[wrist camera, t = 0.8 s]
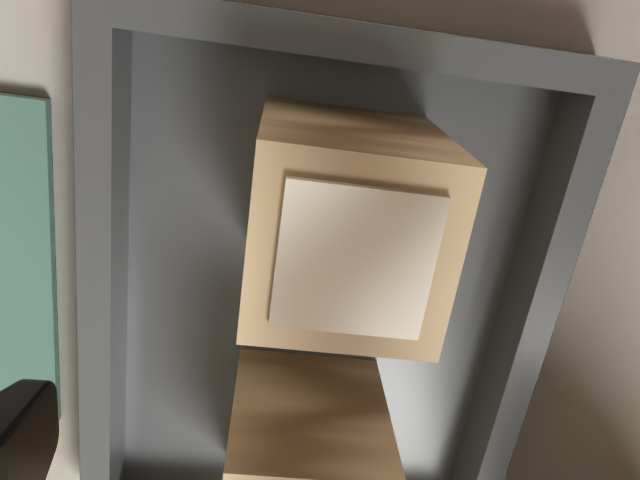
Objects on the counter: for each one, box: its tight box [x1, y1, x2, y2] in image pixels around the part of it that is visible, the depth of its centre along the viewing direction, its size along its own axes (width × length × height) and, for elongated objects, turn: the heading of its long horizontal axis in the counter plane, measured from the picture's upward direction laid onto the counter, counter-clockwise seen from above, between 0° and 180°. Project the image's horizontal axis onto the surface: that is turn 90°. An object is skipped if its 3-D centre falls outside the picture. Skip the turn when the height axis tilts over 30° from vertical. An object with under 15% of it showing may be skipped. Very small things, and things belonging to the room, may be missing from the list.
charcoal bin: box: [71, 0, 640, 480], centre depth 20 cm, size 15×19×2 cm
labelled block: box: [236, 96, 488, 363], centre depth 16 cm, size 5×5×6 cm
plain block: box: [223, 349, 406, 480], centre depth 19 cm, size 5×5×6 cm
